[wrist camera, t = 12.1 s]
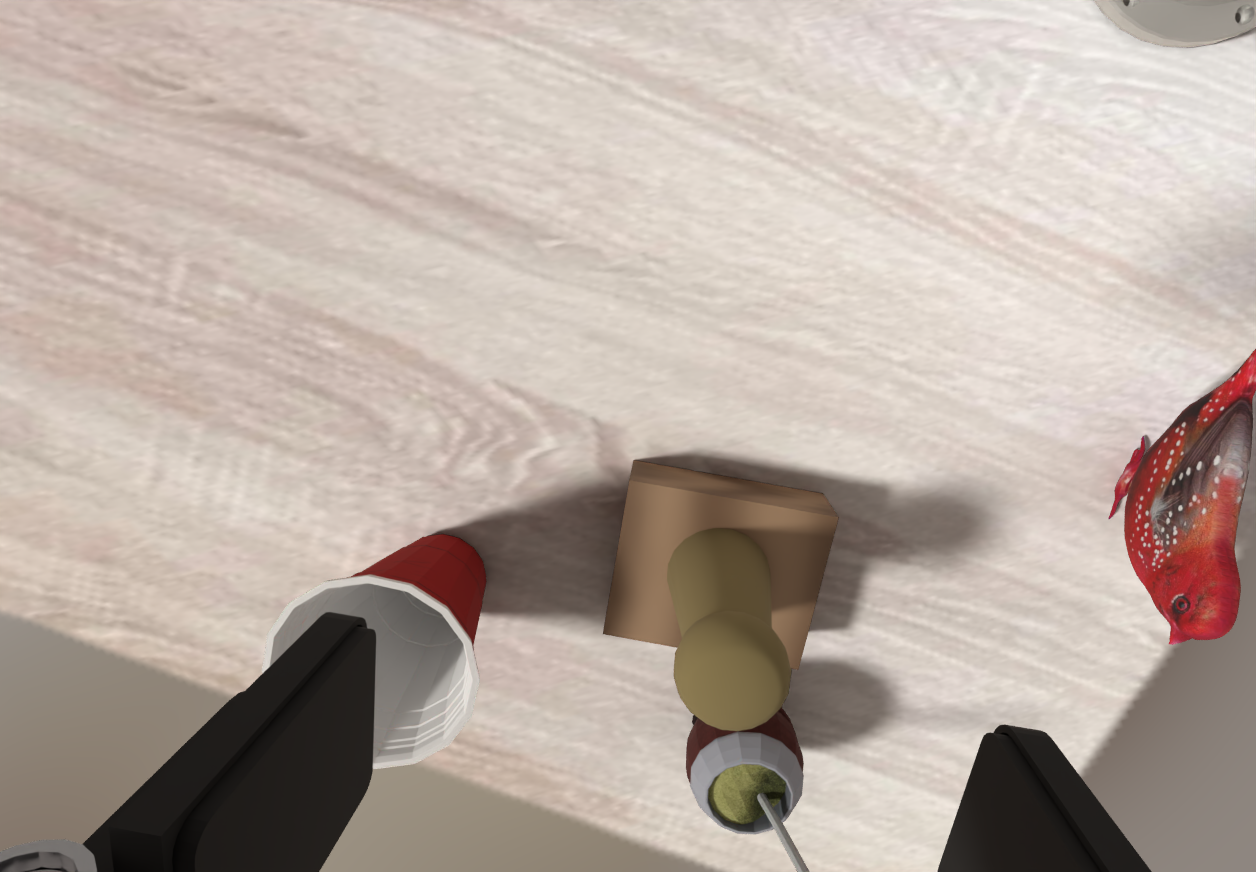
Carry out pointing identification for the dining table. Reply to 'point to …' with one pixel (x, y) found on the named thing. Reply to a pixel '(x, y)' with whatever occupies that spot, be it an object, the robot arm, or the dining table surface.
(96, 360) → the dining table surface
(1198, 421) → the decorative bird figurine
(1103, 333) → the dining table surface
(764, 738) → the mate gourd
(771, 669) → the olive pawn figure
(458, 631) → the plastic cup
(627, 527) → the walnut plinth
